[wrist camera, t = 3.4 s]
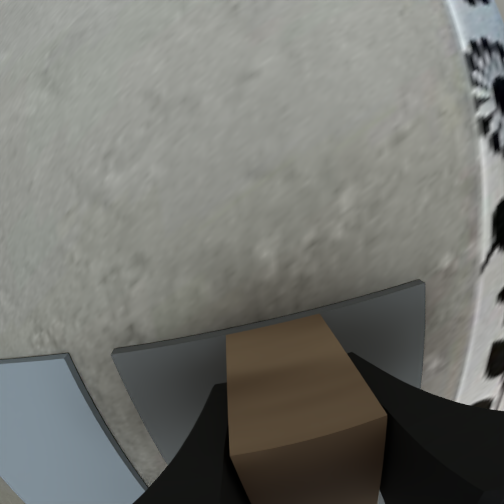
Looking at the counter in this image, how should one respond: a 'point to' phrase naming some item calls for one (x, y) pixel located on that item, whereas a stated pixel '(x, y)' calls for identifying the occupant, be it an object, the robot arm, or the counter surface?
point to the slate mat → (58, 438)
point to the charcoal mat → (205, 359)
